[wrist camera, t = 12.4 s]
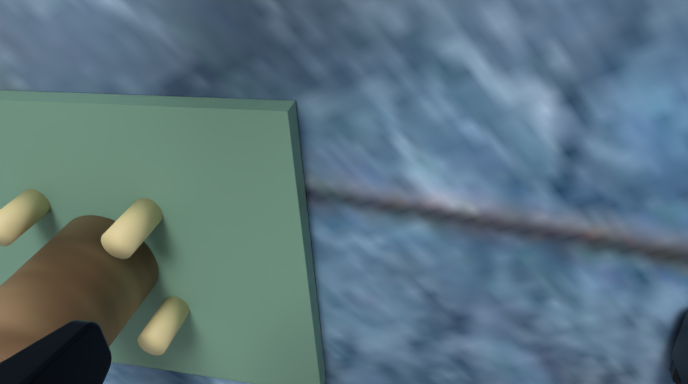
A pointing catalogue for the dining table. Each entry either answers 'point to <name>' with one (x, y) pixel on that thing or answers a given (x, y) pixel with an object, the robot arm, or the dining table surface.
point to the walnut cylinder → (73, 286)
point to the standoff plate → (177, 221)
